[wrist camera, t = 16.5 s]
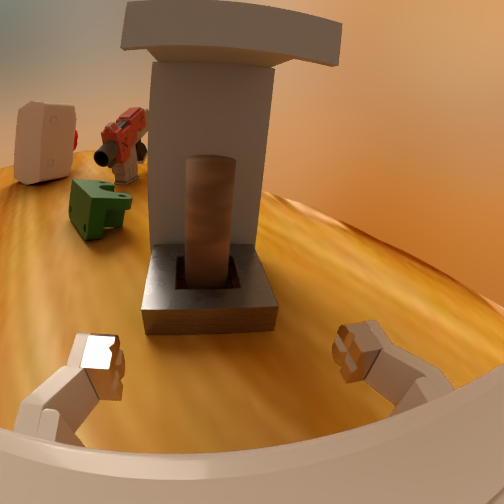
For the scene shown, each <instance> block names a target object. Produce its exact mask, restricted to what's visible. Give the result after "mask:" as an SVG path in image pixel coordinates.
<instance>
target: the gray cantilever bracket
mask: <svg viewBox="0 0 504 504" xmlns="http://www.w3.org/2000/svg"><path fill="white" fill-rule="evenodd" d="M341 34H342V23H339V22H335V21H332V20H328V19H325V18H321V17H317V16H313V15H309V14H305V13H301V12H296V11H291V10H286V9H281V8H276V7H270V6H263V5H256V4H249V3H241V2H230V1H218V0H147V1H133V2H127V7H126V12H125V19H124V25H123V32H122V39H121V47H120V48H121V49H123V50H138V49H147V50H148V51H149V52H150V53H151V54H152V55H153V56H154V58H155V59H156V60H157V61H158V62H153V65H152V75H151V87H150V102H149V123H148V210H149V232H150V248H151V255H152V250H153V245H154V244H185V179H186V158H187V157H190V156H195V155H219V156H226V157H230V158H233V159H235V160H236V170H235V181H234V194H233V206H232V219H231V233H230V244H253V245H254V248H255V242H256V234H257V225H258V216H259V207H260V198H261V190H262V181H263V172H264V163H265V154H266V145H267V136H268V127H269V119H270V109H271V101H272V91H273V83H274V73H275V69H274V68H271V67H273V66H276V65H278V64H281V63H283V62H286V61H289V60H292V59H298V60H303V61H308V62H313V63H317V64H322V65H326V66H330V67H333V66H338V65H339V54H340V45H341Z"/></svg>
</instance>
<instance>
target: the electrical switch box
mask: <svg viewBox="0 0 504 504" xmlns="http://www.w3.org/2000/svg"><path fill="white" fill-rule="evenodd" d="M75 126H76V113H75V107H74V105H72V104H60V103H43V102H36V101H31V102H29V103H28V104H26V105H25V106H23V107H22V108H20V109H19V111H18V117H17V126H16V139H15V154H14V178H15V179H17V180H18V181H20V182H21V183H23V184H25V185H28V184H32V183H37V182H41V181H47V180H53V179H59V178H64V177H68V175H69V172H70V169H71V166H72V162H73V151H74V150H75V149H76V146H77V138H78V134H77V131H76V129H75Z"/></svg>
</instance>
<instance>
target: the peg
mask: <svg viewBox="0 0 504 504" xmlns="http://www.w3.org/2000/svg"><path fill="white" fill-rule="evenodd" d="M235 170H236V160H235V159H233V158H230V157H226V156H219V155H195V156H190V157H187V158H186V179H185V284H186V289H227V276H228V261H229V246H230V233H231V219H232V206H233V194H234V181H235Z"/></svg>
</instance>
